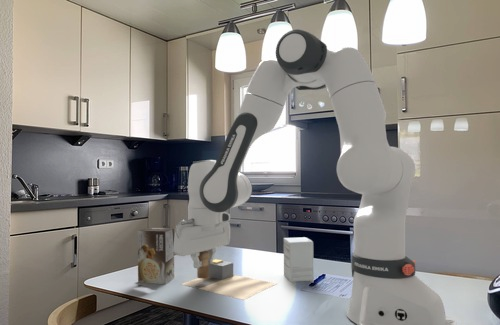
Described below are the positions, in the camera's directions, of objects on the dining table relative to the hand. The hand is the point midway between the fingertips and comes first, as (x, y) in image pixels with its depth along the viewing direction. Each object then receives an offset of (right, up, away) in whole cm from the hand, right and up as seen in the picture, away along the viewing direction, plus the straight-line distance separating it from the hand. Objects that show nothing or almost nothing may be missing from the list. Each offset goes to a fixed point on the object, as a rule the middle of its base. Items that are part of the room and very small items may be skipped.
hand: (203, 265), depth 106 cm
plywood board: (+7, -6, 0) cm, 10 cm away
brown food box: (-14, -7, +4) cm, 16 cm away
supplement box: (+28, -7, +6) cm, 29 cm away
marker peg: (0, -3, 0) cm, 3 cm away
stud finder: (+4, -5, +8) cm, 10 cm away
